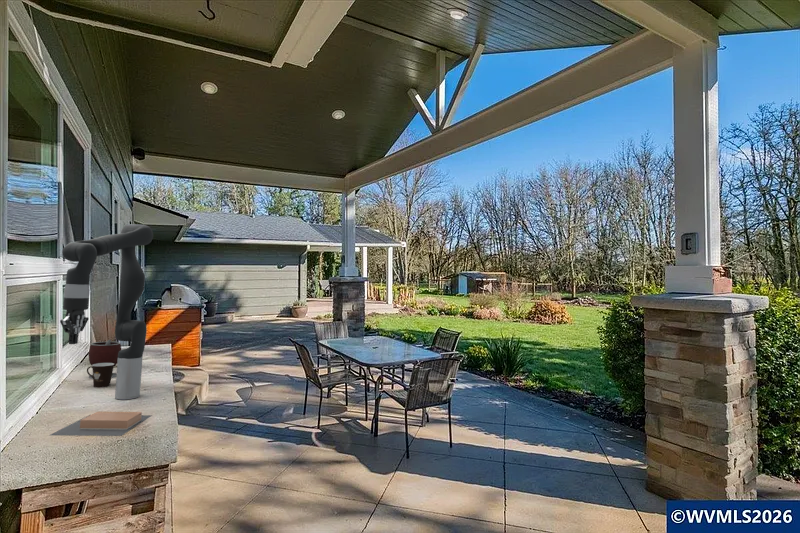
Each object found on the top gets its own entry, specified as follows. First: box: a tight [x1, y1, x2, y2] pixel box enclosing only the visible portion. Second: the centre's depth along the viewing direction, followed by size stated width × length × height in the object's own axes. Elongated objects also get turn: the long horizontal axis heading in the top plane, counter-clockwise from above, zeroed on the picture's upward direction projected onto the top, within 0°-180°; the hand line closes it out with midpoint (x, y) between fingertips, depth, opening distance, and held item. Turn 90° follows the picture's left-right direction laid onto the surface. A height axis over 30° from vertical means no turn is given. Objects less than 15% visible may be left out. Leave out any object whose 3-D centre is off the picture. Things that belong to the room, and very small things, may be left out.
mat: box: [49, 414, 153, 437], centre depth 152 cm, size 22×22×1 cm
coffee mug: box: [86, 363, 115, 388], centre depth 206 cm, size 12×9×10 cm
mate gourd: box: [88, 339, 122, 380], centre depth 223 cm, size 16×14×20 cm
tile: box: [79, 410, 143, 430], centre depth 152 cm, size 10×3×15 cm
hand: (73, 343), depth 159 cm, fingers closed
